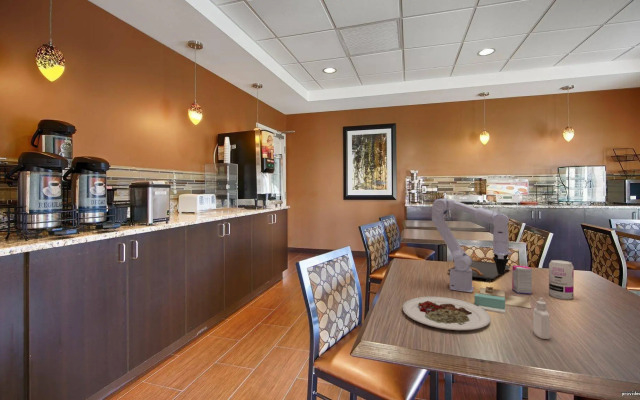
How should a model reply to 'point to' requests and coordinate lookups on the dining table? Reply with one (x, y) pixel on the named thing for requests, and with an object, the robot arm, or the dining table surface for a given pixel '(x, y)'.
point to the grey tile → (492, 309)
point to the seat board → (507, 297)
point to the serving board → (484, 269)
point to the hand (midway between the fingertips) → (500, 272)
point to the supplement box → (522, 280)
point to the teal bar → (489, 301)
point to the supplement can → (561, 279)
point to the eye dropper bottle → (541, 320)
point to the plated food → (446, 313)
